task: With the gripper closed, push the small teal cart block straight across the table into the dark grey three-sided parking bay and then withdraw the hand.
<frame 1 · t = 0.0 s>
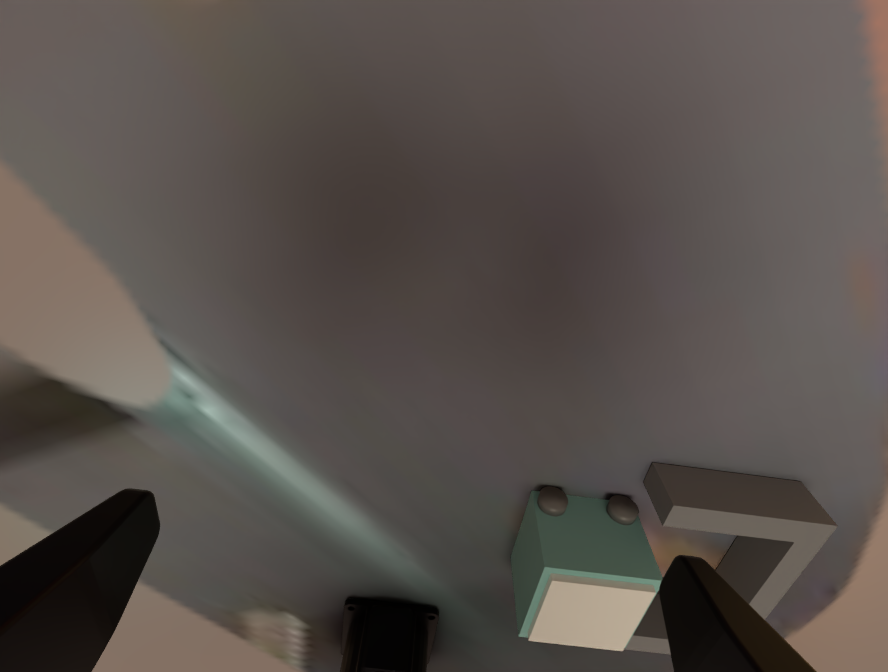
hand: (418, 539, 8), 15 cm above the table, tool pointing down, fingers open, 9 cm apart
bay: (672, 544, 30), on the table
cart: (568, 530, 30), on the table
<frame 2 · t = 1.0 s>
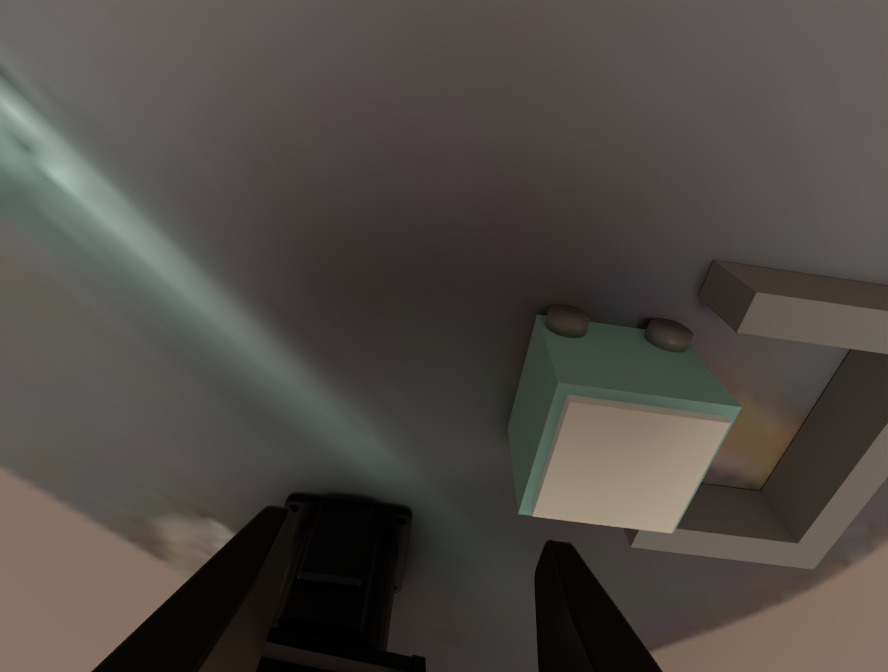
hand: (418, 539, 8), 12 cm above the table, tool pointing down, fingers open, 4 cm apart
bay: (732, 404, 21), on the table
cart: (588, 383, 21), on the table
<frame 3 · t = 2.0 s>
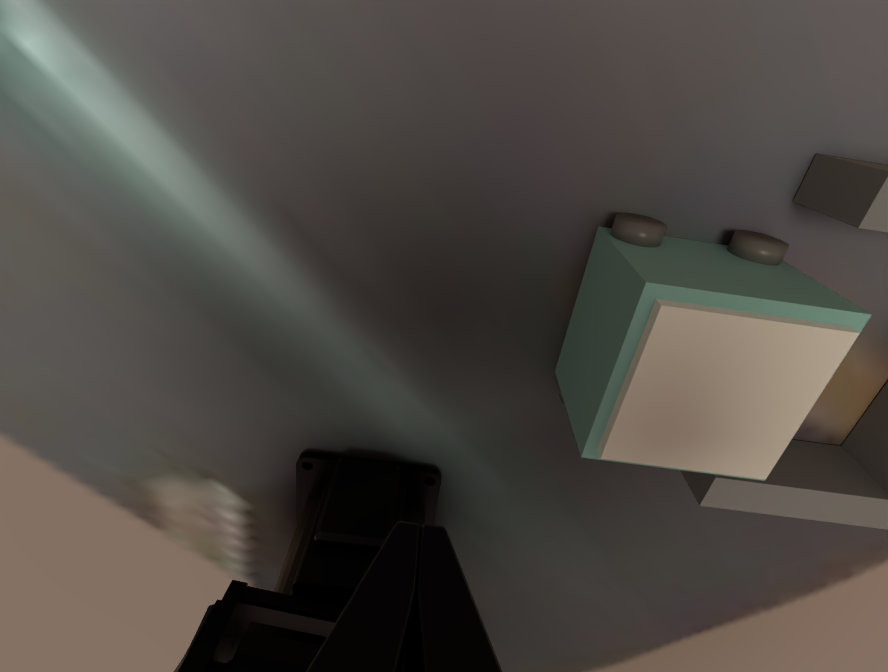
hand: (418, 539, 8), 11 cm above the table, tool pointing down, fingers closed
bay: (820, 340, 18), on the table
cart: (652, 314, 18), on the table
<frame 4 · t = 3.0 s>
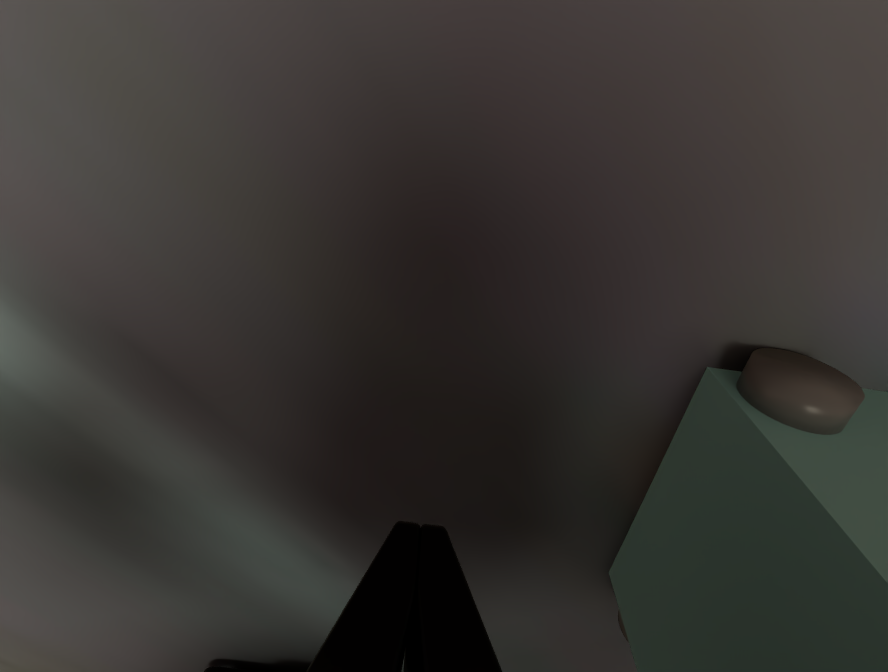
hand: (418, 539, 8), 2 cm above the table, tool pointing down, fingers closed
cart: (782, 497, 11), on the table
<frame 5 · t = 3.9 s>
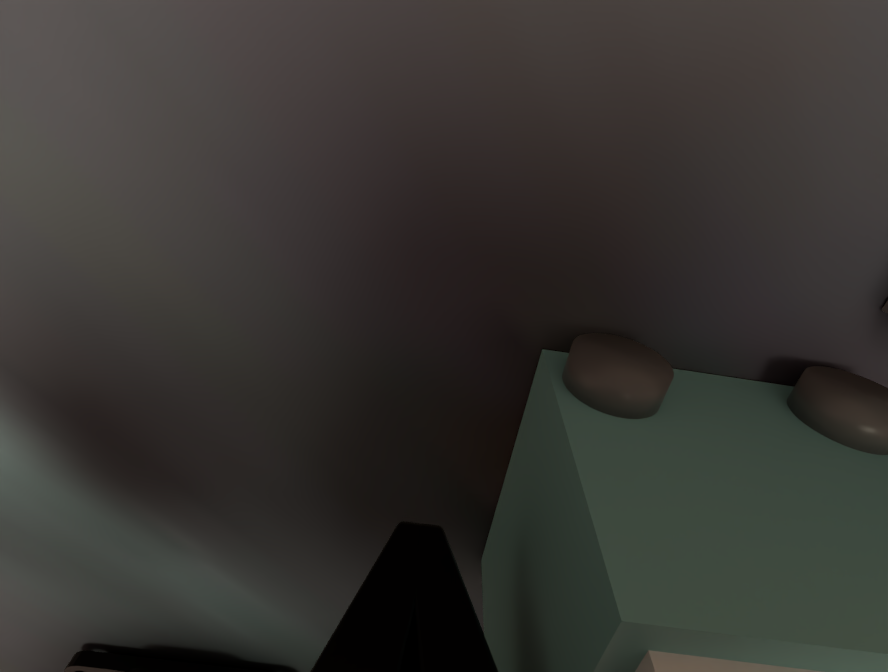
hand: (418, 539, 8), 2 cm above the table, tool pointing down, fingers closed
cart: (644, 488, 10), on the table, touching gripper
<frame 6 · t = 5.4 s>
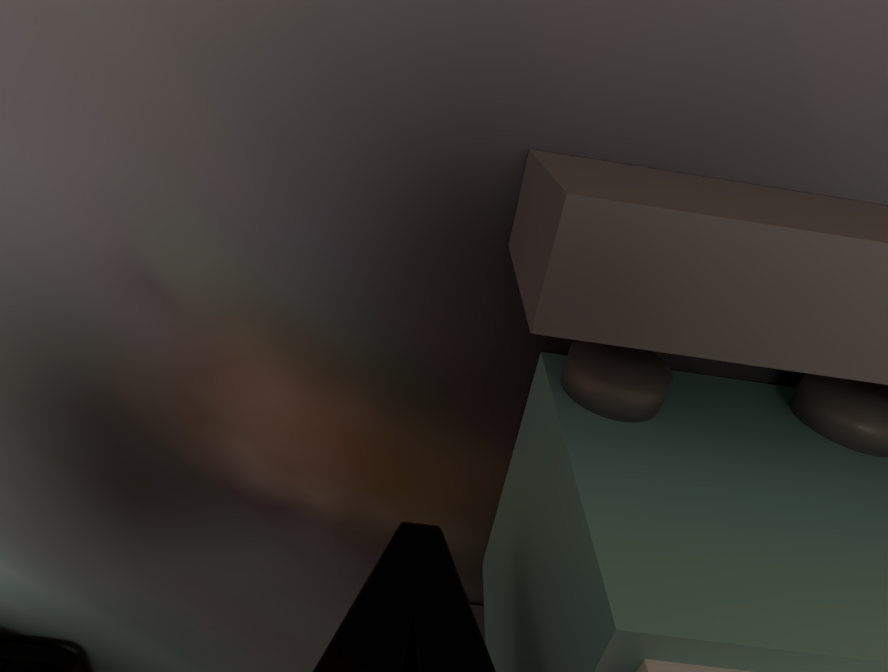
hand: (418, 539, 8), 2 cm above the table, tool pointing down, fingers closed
bay: (624, 484, 10), on the table
cart: (645, 490, 10), on the table, touching bay, gripper
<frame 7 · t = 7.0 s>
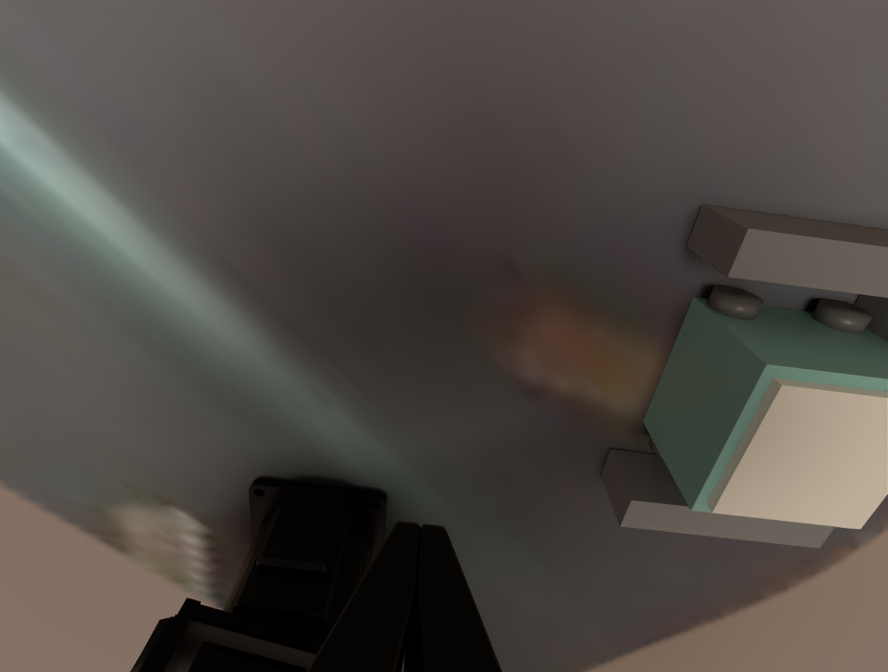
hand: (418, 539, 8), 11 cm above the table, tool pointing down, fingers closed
bay: (727, 369, 20), on the table
cart: (736, 371, 20), on the table
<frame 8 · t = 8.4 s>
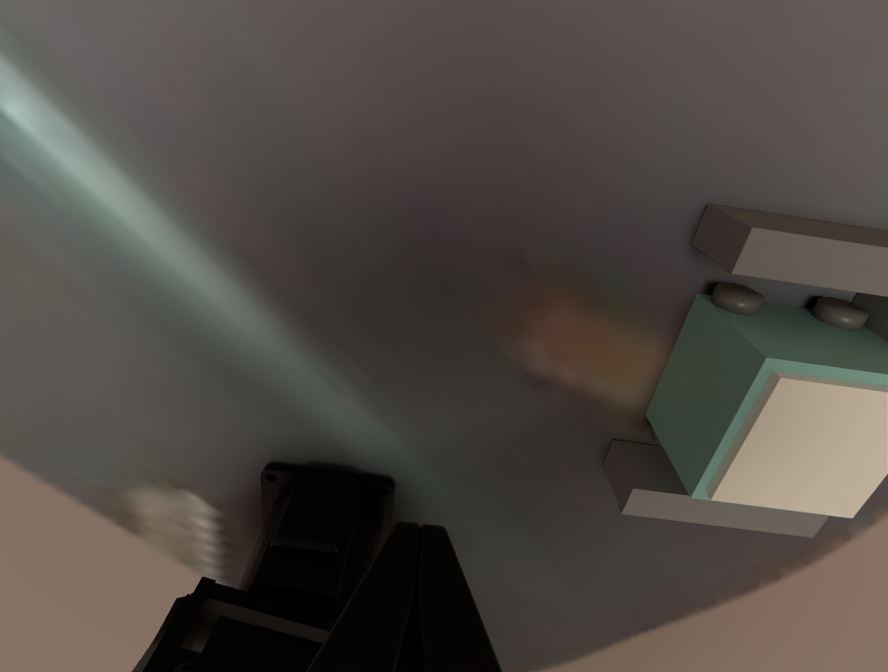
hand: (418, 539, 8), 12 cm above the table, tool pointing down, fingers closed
bay: (728, 364, 20), on the table
cart: (736, 365, 21), on the table
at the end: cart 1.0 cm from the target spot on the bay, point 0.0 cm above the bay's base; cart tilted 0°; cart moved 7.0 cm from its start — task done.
